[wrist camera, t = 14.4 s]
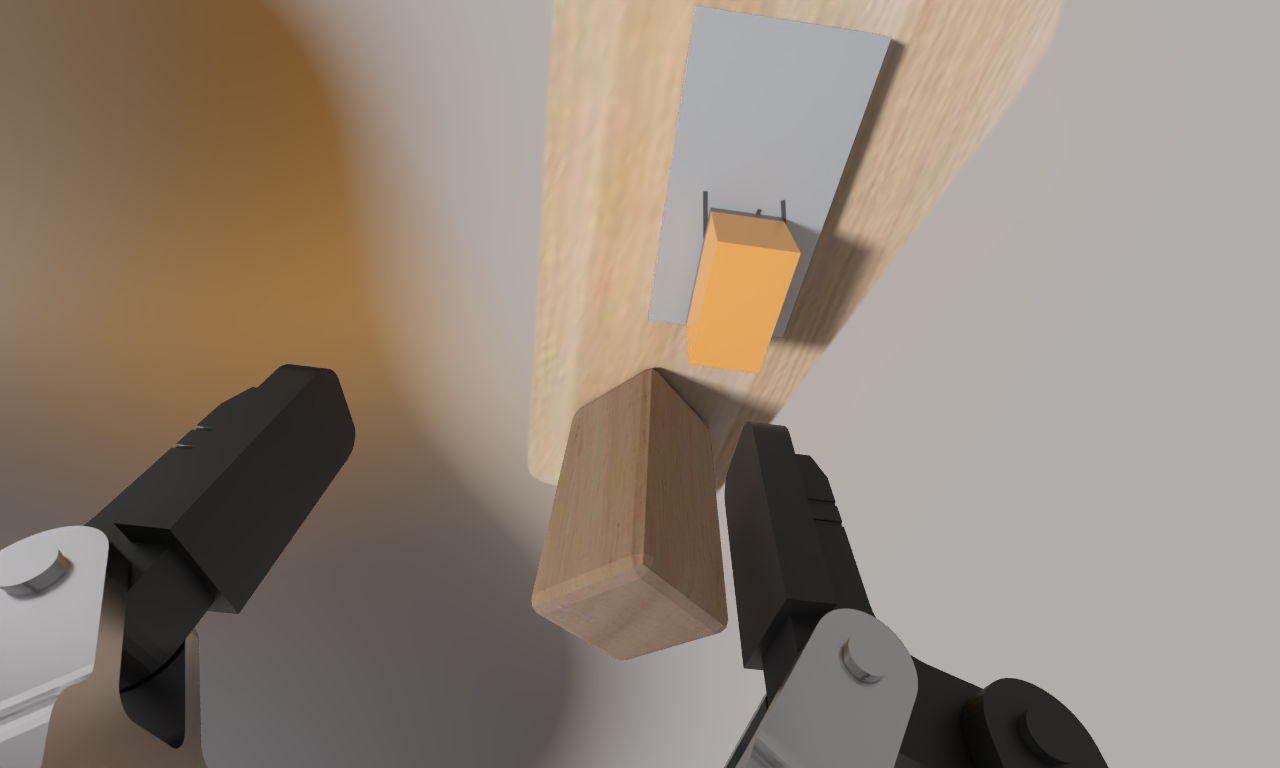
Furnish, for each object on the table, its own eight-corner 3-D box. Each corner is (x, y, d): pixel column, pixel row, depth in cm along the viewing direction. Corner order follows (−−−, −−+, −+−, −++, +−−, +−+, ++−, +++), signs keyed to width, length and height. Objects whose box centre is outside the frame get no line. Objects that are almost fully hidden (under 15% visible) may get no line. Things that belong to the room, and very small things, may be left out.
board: (695, 5, 28) (696, 5, 26) (882, 34, 28) (892, 36, 27) (648, 310, 40) (648, 320, 39) (779, 327, 40) (782, 337, 39)
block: (713, 427, 48) (735, 635, 32) (634, 466, 52) (619, 668, 36) (652, 360, 43) (643, 565, 27) (570, 409, 47) (521, 612, 31)
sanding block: (710, 207, 33) (717, 241, 28) (782, 217, 33) (800, 253, 29) (686, 320, 39) (688, 364, 34) (747, 328, 39) (758, 373, 34)
